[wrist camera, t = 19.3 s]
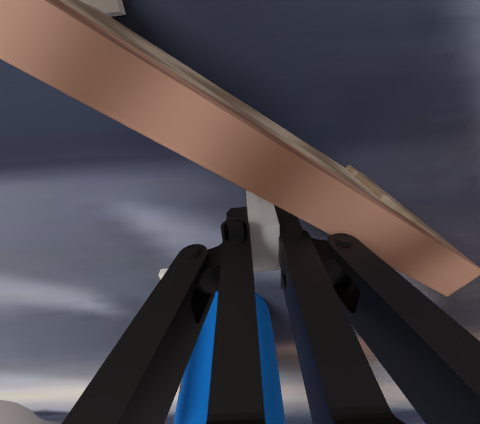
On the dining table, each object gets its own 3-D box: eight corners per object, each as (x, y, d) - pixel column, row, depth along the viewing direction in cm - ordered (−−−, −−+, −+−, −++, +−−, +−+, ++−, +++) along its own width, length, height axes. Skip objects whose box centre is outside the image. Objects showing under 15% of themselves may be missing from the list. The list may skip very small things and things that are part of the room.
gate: (91, 34, 16) (-181, -38, 6) (98, 1, 15) (-208, -156, 5) (349, 191, 23) (447, 296, 12) (364, 174, 22) (484, 271, 11)
